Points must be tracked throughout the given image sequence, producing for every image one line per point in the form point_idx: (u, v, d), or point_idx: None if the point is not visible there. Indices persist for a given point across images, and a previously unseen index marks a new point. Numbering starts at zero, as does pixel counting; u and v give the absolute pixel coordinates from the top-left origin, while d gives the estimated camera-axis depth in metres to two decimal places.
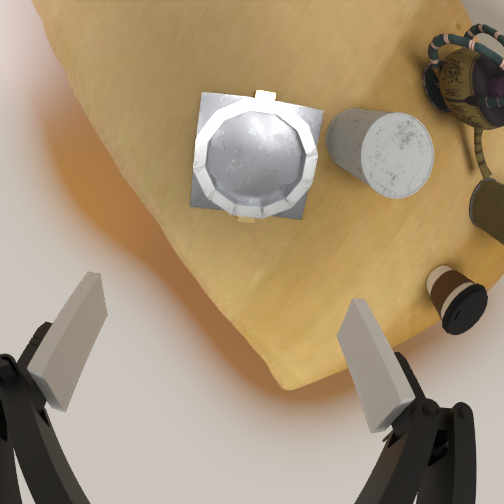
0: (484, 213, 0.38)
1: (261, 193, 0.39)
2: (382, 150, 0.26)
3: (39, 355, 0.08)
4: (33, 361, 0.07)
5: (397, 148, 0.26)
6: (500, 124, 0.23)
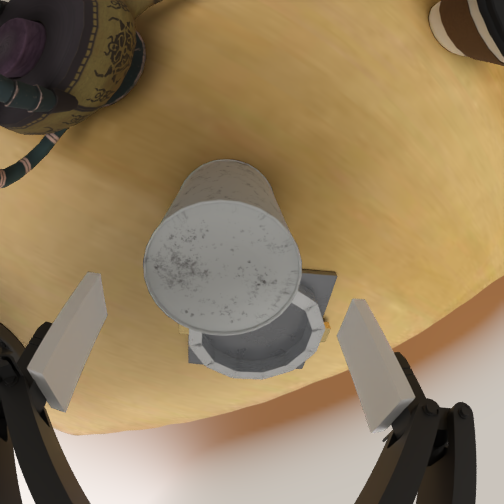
0: None
1: (298, 318, 0.34)
2: (218, 304, 0.18)
3: (39, 355, 0.08)
4: (33, 361, 0.07)
5: (209, 280, 0.17)
6: (81, 10, 0.09)
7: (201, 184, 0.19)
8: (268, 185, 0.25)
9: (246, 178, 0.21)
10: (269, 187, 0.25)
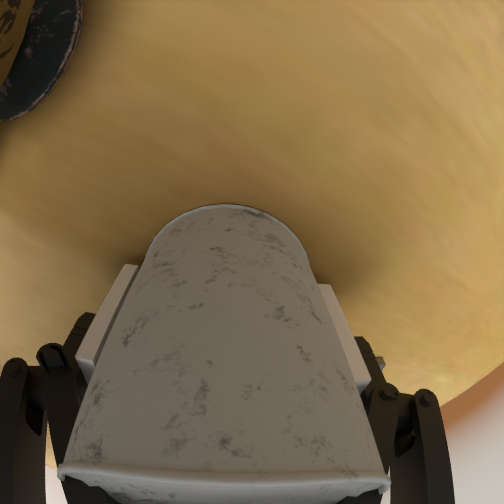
0: None
1: None
2: None
3: (87, 343, 0.09)
4: (81, 349, 0.09)
5: None
6: None
7: (161, 316, 0.07)
8: (304, 257, 0.14)
9: (271, 278, 0.09)
10: (307, 262, 0.14)
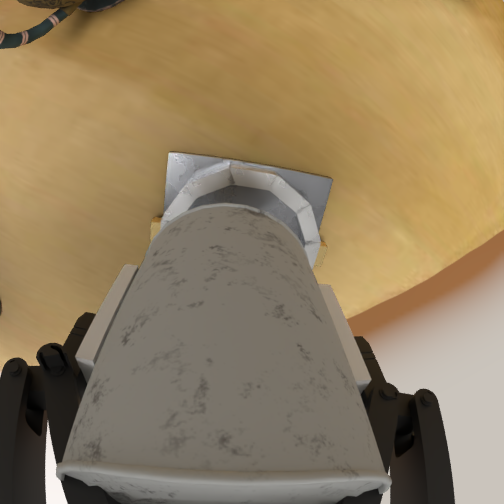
0: None
1: None
2: None
3: (87, 343, 0.09)
4: (81, 349, 0.09)
5: None
6: None
7: (160, 314, 0.07)
8: (304, 256, 0.14)
9: (271, 277, 0.09)
10: (307, 261, 0.14)
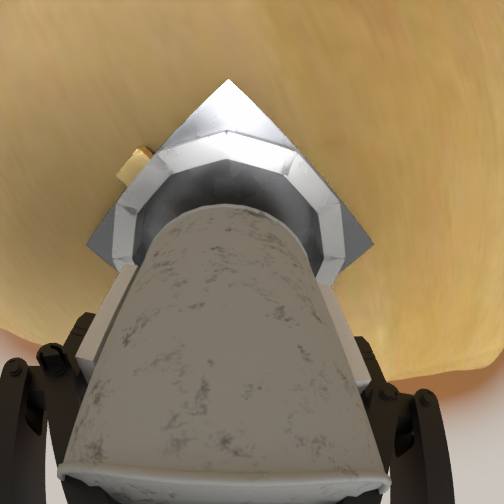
0: None
1: None
2: None
3: (87, 343, 0.09)
4: (81, 349, 0.09)
5: None
6: None
7: (161, 316, 0.07)
8: (304, 257, 0.14)
9: (272, 278, 0.09)
10: (307, 262, 0.14)
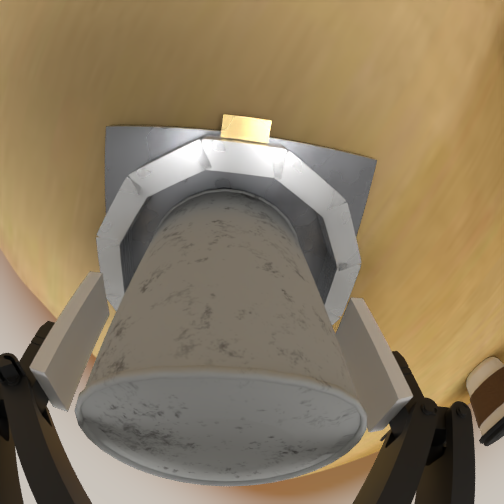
0: None
1: None
2: (215, 466, 0.09)
3: (41, 354, 0.08)
4: (35, 360, 0.08)
5: (198, 451, 0.08)
6: None
7: (173, 268, 0.09)
8: (293, 234, 0.16)
9: (262, 243, 0.11)
10: (295, 239, 0.16)
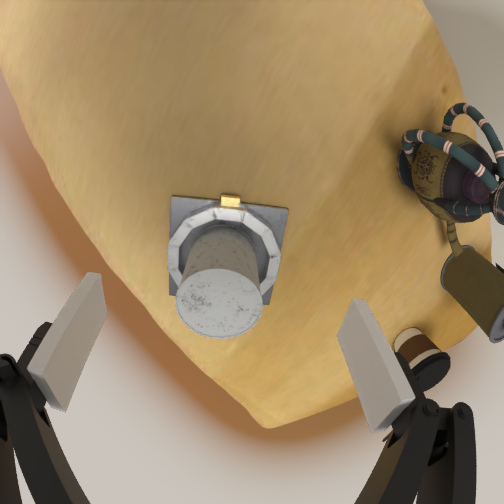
0: (454, 285, 0.43)
1: None
2: (216, 321, 0.32)
3: (39, 355, 0.08)
4: (33, 361, 0.07)
5: (211, 308, 0.31)
6: (470, 220, 0.28)
7: (207, 251, 0.33)
8: (250, 243, 0.39)
9: (234, 245, 0.35)
10: (250, 244, 0.39)
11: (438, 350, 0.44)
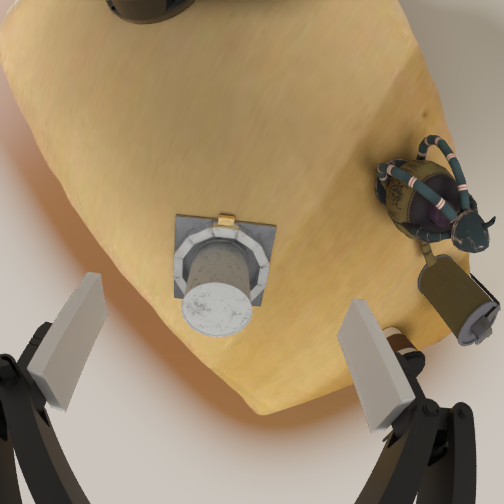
0: (428, 291, 0.50)
1: None
2: (215, 322, 0.39)
3: (39, 355, 0.08)
4: (33, 361, 0.07)
5: (211, 312, 0.38)
6: (436, 241, 0.35)
7: (207, 266, 0.40)
8: (243, 255, 0.46)
9: (229, 260, 0.42)
10: (243, 257, 0.46)
11: (413, 349, 0.52)
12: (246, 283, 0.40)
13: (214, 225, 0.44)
